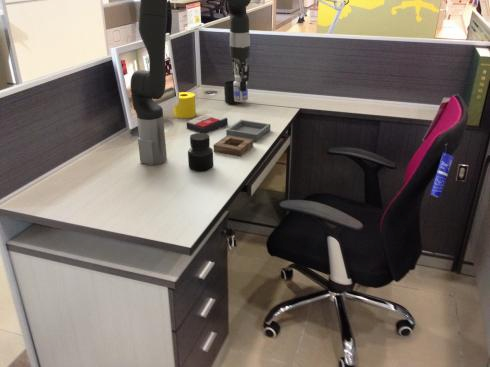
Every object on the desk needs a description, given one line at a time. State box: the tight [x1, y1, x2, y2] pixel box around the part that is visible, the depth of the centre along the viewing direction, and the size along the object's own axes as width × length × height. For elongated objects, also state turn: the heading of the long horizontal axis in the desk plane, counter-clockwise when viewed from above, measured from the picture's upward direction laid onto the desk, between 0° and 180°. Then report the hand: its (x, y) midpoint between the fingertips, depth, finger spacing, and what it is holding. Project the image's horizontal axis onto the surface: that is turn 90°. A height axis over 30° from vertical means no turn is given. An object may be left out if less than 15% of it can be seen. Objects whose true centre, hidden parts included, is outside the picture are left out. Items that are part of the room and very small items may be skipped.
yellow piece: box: [173, 91, 197, 119], centre depth 222 cm, size 10×10×9 cm
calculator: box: [186, 112, 229, 134], centre depth 208 cm, size 11×4×15 cm
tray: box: [225, 119, 271, 143], centre depth 200 cm, size 14×14×3 cm
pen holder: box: [223, 80, 243, 106], centre depth 239 cm, size 9×9×10 cm
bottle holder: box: [213, 135, 254, 158], centre depth 185 cm, size 12×12×3 cm
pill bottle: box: [233, 75, 249, 103], centre depth 182 cm, size 5×5×10 cm
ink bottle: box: [187, 132, 214, 173], centre depth 168 cm, size 10×9×12 cm
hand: (240, 88), depth 183 cm, fingers closed on pill bottle, 5 cm apart
